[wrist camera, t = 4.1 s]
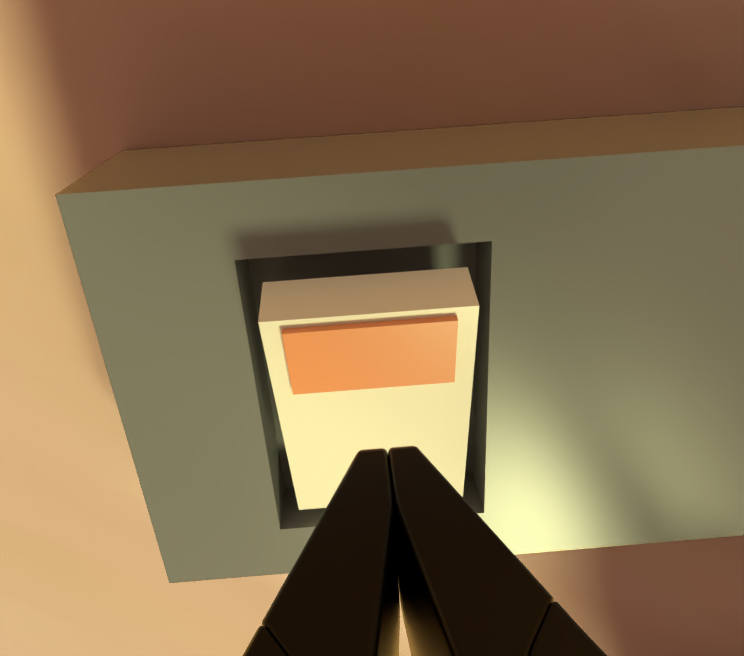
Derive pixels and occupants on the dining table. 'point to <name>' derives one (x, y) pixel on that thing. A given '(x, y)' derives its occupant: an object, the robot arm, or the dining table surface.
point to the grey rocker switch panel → (494, 332)
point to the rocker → (370, 370)
